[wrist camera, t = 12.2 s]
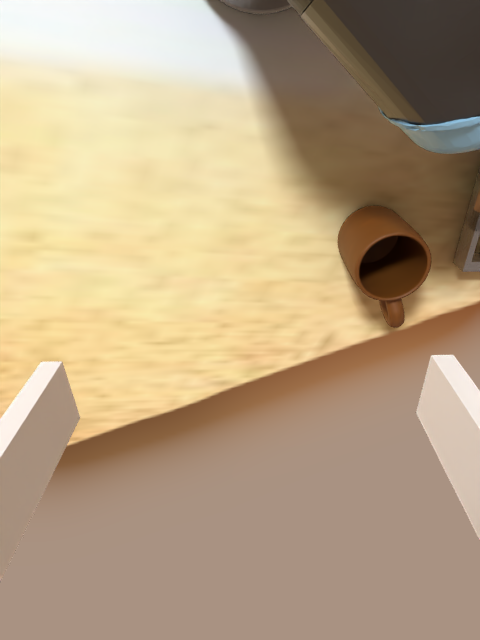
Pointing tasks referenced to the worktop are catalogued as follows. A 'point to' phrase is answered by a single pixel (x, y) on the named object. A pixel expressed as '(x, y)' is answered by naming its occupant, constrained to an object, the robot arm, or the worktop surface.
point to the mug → (384, 258)
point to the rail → (469, 236)
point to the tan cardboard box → (477, 203)
